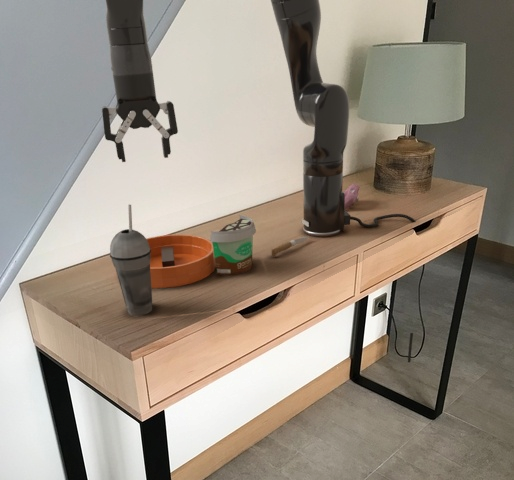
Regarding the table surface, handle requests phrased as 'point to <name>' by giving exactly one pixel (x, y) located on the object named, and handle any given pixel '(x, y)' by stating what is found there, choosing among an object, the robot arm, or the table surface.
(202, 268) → the bowl
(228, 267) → the food container
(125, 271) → the beverage cup
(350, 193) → the pink toy figure
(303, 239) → the folding knife
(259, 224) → the table surface
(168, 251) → the dark brown wooden block
